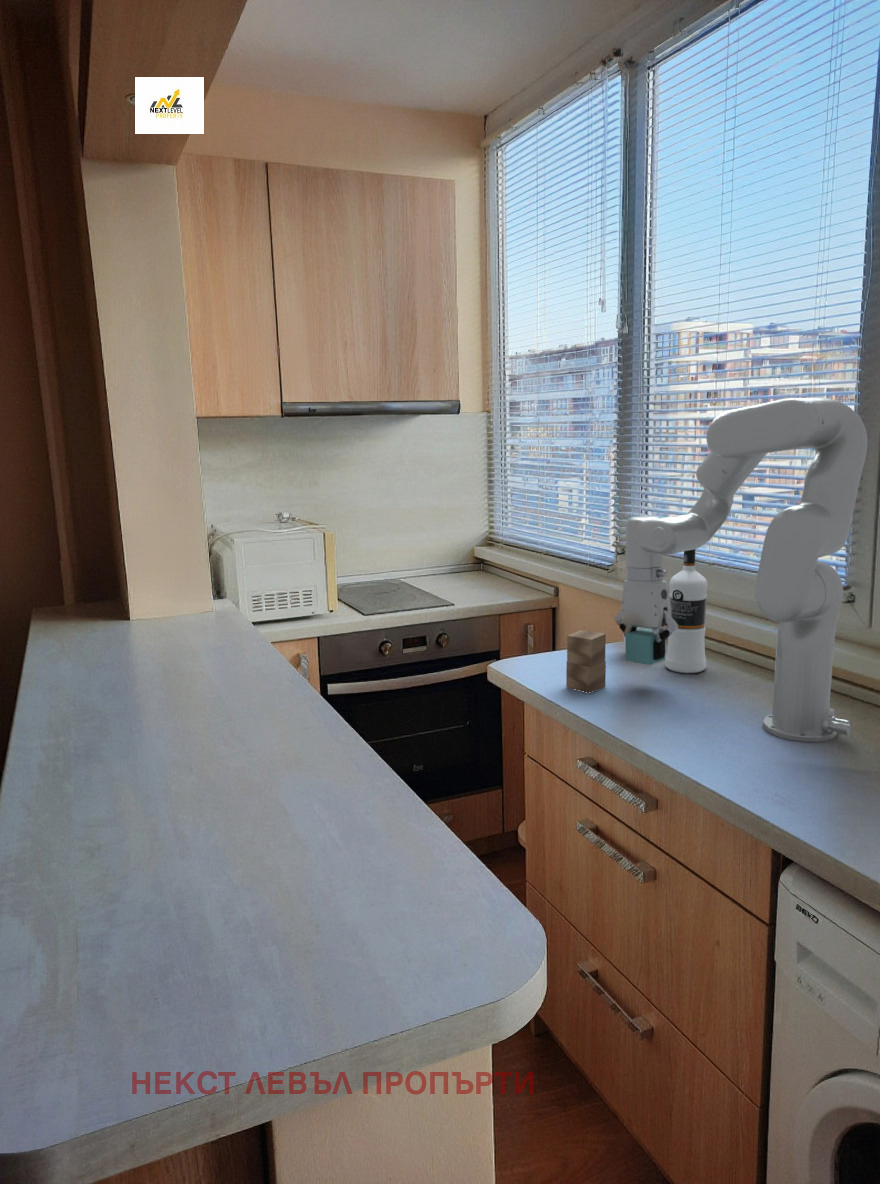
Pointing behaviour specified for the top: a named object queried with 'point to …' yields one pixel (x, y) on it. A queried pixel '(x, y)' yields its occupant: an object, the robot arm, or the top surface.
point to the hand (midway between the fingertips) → (645, 655)
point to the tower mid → (586, 648)
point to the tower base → (586, 677)
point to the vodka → (687, 619)
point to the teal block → (641, 647)
